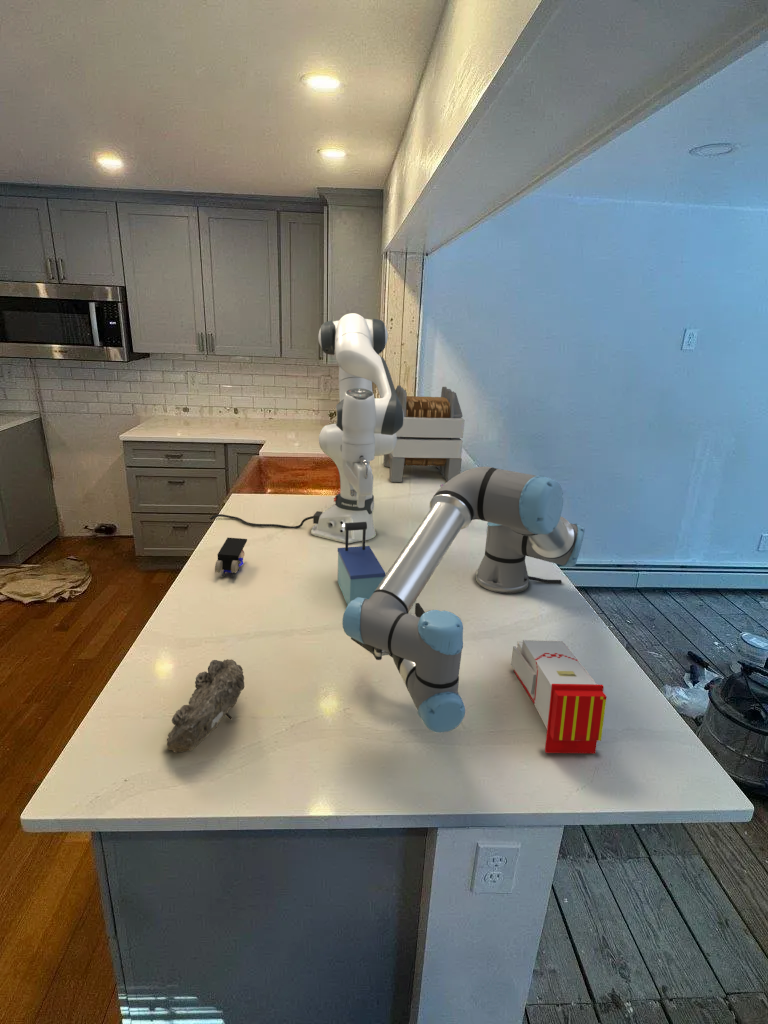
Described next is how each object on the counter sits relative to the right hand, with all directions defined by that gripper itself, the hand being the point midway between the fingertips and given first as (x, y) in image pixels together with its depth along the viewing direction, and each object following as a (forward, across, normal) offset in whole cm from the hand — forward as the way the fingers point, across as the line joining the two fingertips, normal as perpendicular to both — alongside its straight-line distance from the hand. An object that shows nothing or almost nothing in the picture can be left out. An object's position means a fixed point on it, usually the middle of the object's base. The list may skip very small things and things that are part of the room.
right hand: (387, 610), depth 127 cm
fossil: (-14, -38, -11) cm, 42 cm away
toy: (-25, +28, -11) cm, 39 cm away
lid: (+29, 0, -2) cm, 29 cm away
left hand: (+36, 0, +14) cm, 38 cm away
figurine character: (+50, -33, -11) cm, 61 cm away
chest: (+28, 0, -11) cm, 30 cm away
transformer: (+143, +56, -9) cm, 154 cm away
